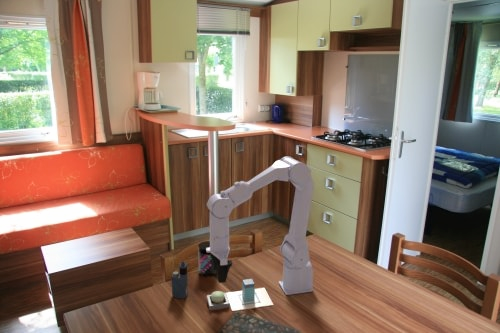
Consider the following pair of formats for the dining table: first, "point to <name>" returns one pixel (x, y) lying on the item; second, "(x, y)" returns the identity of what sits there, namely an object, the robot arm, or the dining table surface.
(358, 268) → the dining table surface
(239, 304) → the paper
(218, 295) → the button
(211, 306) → the button housing
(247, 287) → the teal block
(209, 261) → the supplement container
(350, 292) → the dining table surface
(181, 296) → the vaping device
